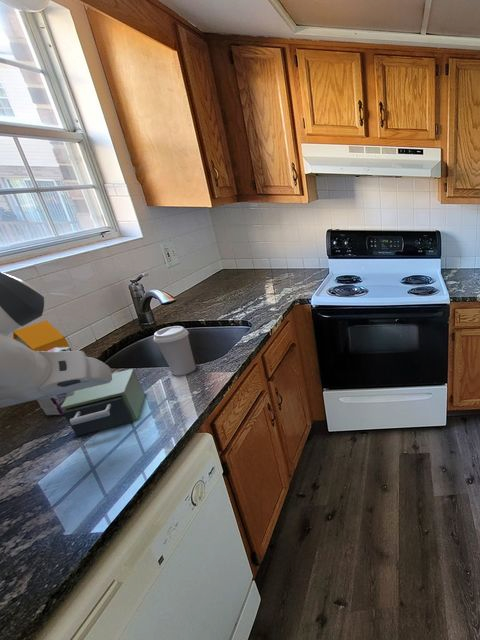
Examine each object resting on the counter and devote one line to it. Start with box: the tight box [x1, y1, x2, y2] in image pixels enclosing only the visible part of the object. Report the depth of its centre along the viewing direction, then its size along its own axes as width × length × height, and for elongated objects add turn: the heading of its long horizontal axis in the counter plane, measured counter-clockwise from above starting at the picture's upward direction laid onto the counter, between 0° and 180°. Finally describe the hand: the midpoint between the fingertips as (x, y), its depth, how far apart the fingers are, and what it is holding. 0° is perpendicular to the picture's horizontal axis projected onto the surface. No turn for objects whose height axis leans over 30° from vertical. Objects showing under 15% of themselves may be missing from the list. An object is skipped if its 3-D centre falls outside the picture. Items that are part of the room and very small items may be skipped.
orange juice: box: [12, 320, 71, 352], centre depth 116 cm, size 8×9×20 cm
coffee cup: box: [152, 325, 197, 376], centre depth 121 cm, size 10×10×15 cm
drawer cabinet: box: [60, 368, 146, 427], centre depth 101 cm, size 15×13×9 cm
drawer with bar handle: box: [63, 395, 133, 437], centre depth 97 cm, size 18×11×7 cm, turn 31°
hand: (65, 394), depth 82 cm, fingers closed
